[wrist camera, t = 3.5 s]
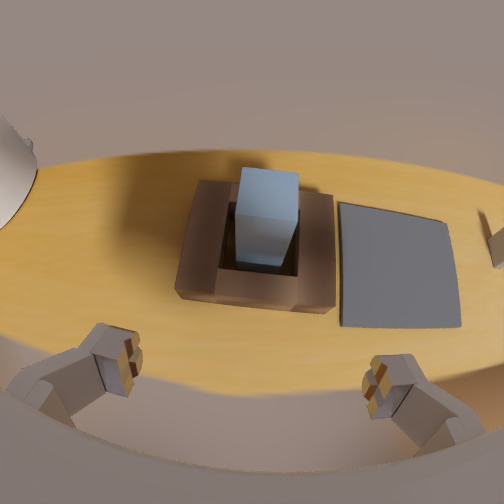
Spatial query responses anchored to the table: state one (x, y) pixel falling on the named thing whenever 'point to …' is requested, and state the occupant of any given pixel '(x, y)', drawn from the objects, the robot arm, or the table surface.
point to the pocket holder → (250, 283)
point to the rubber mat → (396, 271)
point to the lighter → (497, 249)
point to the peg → (265, 218)
